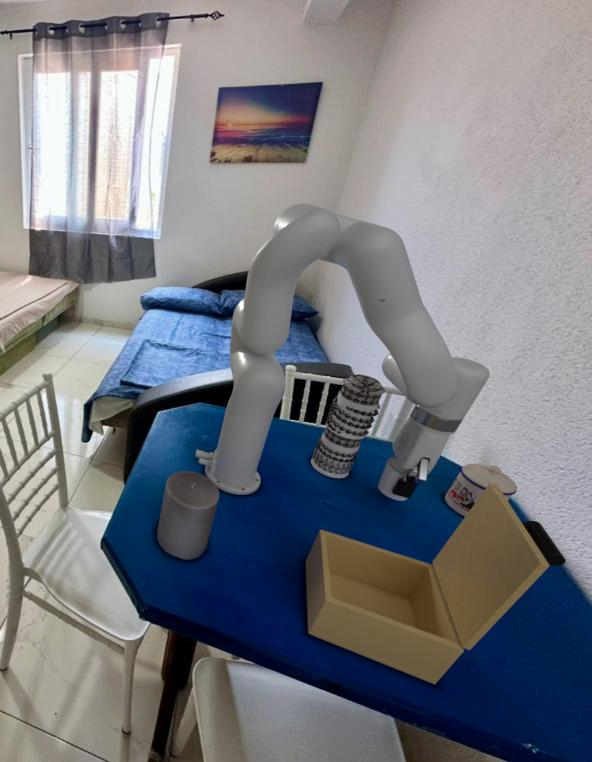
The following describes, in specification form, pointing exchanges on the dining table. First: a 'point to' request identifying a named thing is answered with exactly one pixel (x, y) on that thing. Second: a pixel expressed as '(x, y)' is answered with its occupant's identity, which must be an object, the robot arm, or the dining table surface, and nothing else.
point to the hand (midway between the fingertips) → (396, 483)
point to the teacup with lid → (476, 486)
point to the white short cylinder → (392, 478)
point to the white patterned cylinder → (347, 425)
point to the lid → (491, 564)
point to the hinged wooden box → (380, 606)
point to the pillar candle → (187, 514)
